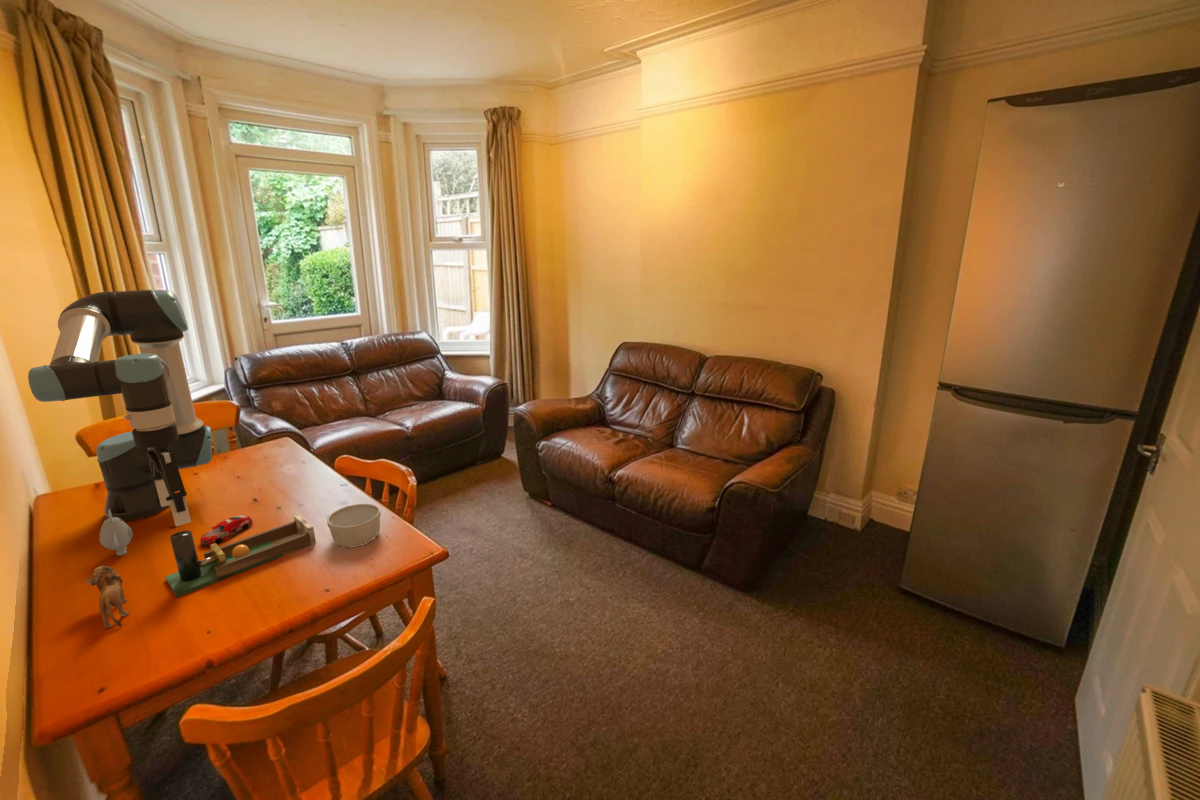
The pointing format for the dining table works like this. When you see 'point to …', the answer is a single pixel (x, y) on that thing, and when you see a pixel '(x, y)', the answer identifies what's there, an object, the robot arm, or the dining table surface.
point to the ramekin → (354, 524)
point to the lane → (249, 555)
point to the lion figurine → (108, 592)
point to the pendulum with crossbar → (192, 555)
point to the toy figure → (115, 534)
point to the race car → (226, 530)
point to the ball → (240, 551)
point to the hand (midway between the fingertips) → (175, 513)
